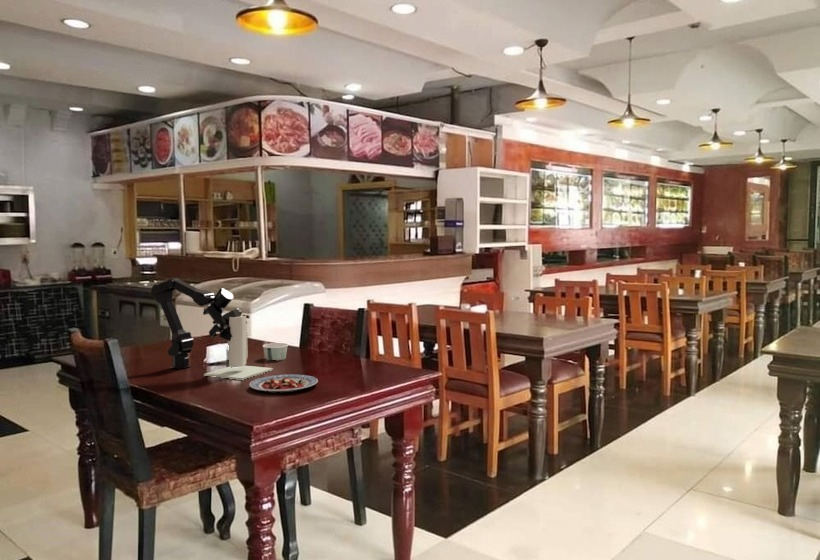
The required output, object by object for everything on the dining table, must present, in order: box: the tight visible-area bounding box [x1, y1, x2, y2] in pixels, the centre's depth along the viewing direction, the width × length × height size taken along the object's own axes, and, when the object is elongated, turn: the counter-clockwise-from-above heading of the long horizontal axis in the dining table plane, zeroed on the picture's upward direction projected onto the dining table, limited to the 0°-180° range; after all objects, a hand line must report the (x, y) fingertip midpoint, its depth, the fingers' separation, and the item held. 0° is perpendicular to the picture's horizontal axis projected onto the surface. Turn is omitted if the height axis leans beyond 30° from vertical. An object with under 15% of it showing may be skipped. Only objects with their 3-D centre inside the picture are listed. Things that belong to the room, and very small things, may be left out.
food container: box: [262, 342, 289, 361], centre depth 293 cm, size 12×12×6 cm
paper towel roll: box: [228, 315, 247, 367], centre depth 261 cm, size 7×6×21 cm
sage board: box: [203, 364, 274, 381], centre depth 262 cm, size 20×20×1 cm
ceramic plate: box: [249, 373, 319, 393], centre depth 238 cm, size 26×26×3 cm
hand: (240, 342), depth 260 cm, fingers closed on paper towel roll, 3 cm apart
